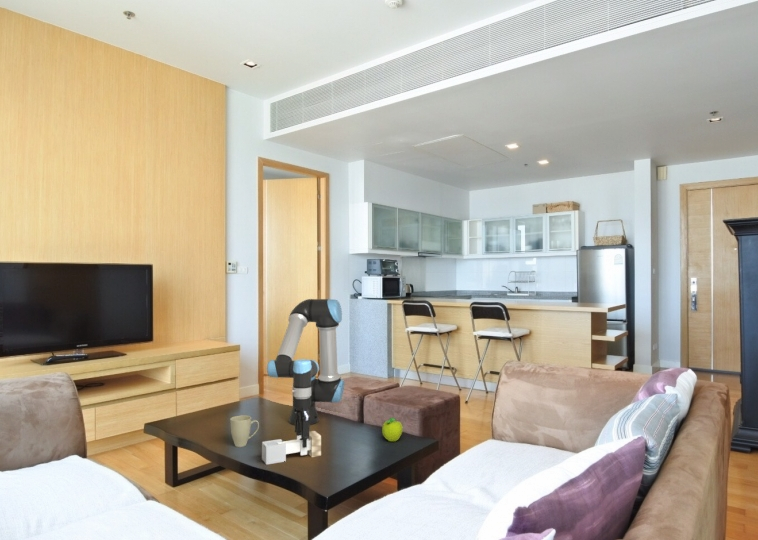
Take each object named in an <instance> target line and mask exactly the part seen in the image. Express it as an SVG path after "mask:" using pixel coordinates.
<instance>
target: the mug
mask: <svg viewBox="0 0 758 540" xmlns="http://www.w3.org/2000/svg"><path fill="white" fill-rule="evenodd" d="M229 420H230V421H229V422H230V432H231V437H232V441H233V443H234V447H237V448H243V447H245V446H247V444H248V441H249V439H251V438H252V437H253V436H255V435H256V434H257V432H258V430H259V429H260V422H259V421H258V420H256V419H253V420H252V417H251V416H250V415H245V414H244V415H236V416H235V415H234V416H232V417H230V419H229ZM254 423H257V427H256V430H255V431H254V432H253V433H252V434H251V429H252V428H251V426H252V425H253V424H254ZM250 434H251V435H250Z"/></svg>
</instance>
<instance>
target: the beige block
mask: <svg viewBox="0 0 758 540" xmlns="http://www.w3.org/2000/svg"><path fill="white" fill-rule="evenodd" d="M309 438H310V439H311V450H308V451H307V455H309V456H310V457H311V458H315V457H321V456H322V435H321V434H320V433H318V432H317V431H316V430H311V431H310V430H309Z"/></svg>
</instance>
